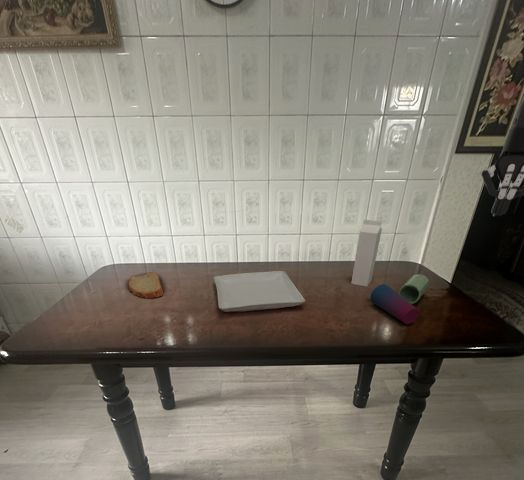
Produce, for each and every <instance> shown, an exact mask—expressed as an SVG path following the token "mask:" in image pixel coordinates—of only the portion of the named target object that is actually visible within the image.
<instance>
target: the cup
mask: <svg viewBox="0 0 524 480" xmlns="http://www.w3.org/2000/svg"><path fill="white" fill-rule="evenodd" d="M370 301H371V303H372V304H373V305H375V306H377V307H379V308H380V309H382V310H383V311H384V312H385V313H388V314H390V315H391V316H392V317H394V318H396V319H397V320H399V322H402V323H404V324H405V325H410V324H412V323H414V322H415V321H416V320H417V319H418V317H419V316H420V310H419V309H418V308H417V307H415V306H414V304H410V303H409V302H408V301H406V300H405V299H404V298H403V297H401V296H400V295H399V294H398V292H396V291H395V290H394V289H393V288H391V287H390V286H389V285H387V284H385V283H384V284H383V283H382V284H379V285H377V286H376V287H375V288H374V289H373V290H372V291H371V293H370Z"/></svg>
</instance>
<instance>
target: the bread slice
mask: <svg viewBox="0 0 524 480" xmlns="http://www.w3.org/2000/svg"><path fill="white" fill-rule="evenodd" d="M128 290H129V291H130V292H131V291H132V292H131V293H132V295H134V294H135V295H134V296H136V295H137V296H136V297H138V296H140V297H139V298H142V297H145V298H144V299H155V298H154V297H159V296H162V295H163V296H164V287H163V284H162V281H161V278H160V276H159V274H157V272H155V271H149V272H148V273H147V272H146V273H145V274H143V275H131V276H130V278H129V280H128ZM163 296H162V297H163ZM159 298H160V297H159Z"/></svg>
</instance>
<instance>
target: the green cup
mask: <svg viewBox="0 0 524 480" xmlns="http://www.w3.org/2000/svg"><path fill="white" fill-rule="evenodd" d="M429 286H430V280H429V279H428V277H427V276H425V275H424V274H421V273H417V274H414V275H412V276H411V277H409V279H407V281H406V282H404V284H403V285H402V286H401V287H400V288H399V289H398V292H397V294H399V295H400V296H401V297H403V298H404V299H405V300H406V301H408V302H409V303H410V304H411V305H414V304H416V303H417V302H418V301H419V300H420V299H421V298H422V296H423V295H424V294H425V292H426V291H427V290H428V289H429Z"/></svg>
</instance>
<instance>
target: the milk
mask: <svg viewBox="0 0 524 480" xmlns="http://www.w3.org/2000/svg"><path fill="white" fill-rule="evenodd" d="M382 230H383V229H382V221H381V220H373V219H372V220H371V219H364V220H363V221H362V226H361V227H360V230H359V233H358V240H357V245H356V252H355V258H354V265H353V271H352V277H351V282H350V283H351V285H356V286H360V287H366V288H367V287H368V286H369V285H371V283H372V280H373V275H374V270H375V264H376V260H377V256H378V255H377V254H378V251H379V247H380V246H379V245H380V240H381V237H382V236H381V235H382Z"/></svg>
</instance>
